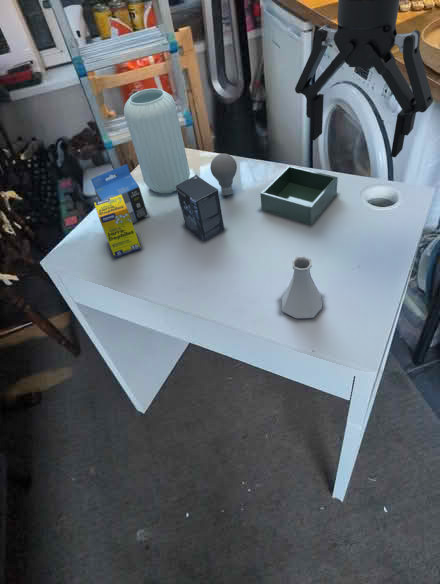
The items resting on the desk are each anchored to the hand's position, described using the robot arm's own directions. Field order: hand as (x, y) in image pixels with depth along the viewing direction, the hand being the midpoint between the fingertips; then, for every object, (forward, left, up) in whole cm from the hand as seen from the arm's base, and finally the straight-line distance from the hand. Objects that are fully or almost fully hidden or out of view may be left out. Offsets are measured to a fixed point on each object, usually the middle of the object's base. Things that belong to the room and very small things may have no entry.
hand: (354, 144), depth 70 cm
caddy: (+15, -9, -22) cm, 28 cm away
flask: (0, +17, -22) cm, 28 cm away
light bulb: (+32, -5, -22) cm, 39 cm away
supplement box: (+41, +21, -22) cm, 51 cm away
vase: (+48, -2, -22) cm, 53 cm away
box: (+29, +8, -22) cm, 37 cm away
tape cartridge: (+47, +14, -22) cm, 54 cm away
